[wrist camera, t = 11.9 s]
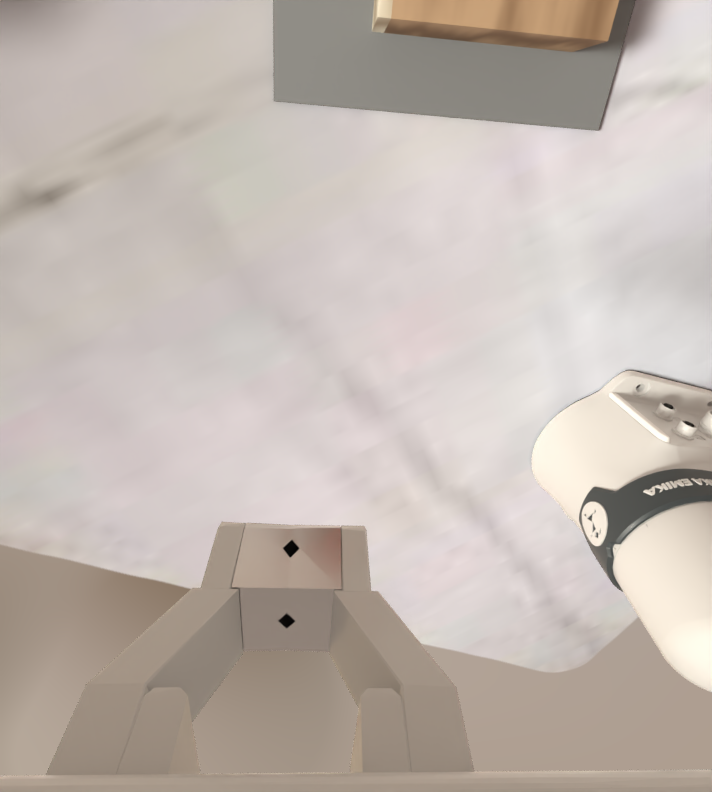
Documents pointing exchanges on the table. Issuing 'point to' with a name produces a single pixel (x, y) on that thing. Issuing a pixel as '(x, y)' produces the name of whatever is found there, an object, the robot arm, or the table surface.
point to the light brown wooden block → (501, 21)
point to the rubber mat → (436, 69)
